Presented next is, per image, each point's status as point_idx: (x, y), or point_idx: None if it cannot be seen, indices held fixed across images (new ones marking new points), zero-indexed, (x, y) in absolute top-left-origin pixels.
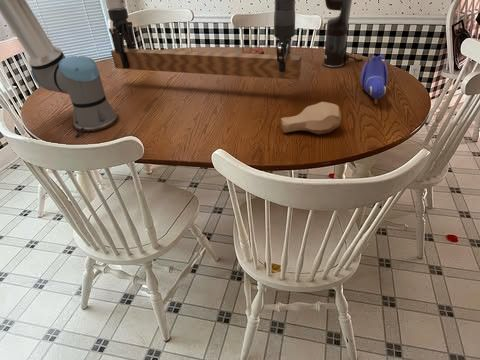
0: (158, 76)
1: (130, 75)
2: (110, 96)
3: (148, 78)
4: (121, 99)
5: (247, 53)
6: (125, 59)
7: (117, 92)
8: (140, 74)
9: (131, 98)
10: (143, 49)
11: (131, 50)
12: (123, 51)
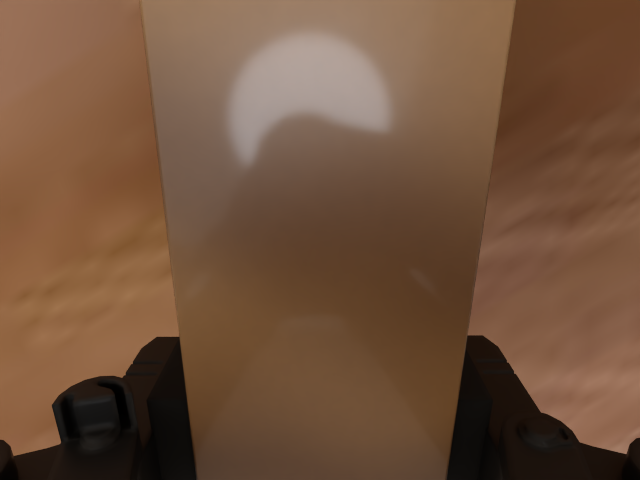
0: (49, 99)
1: (123, 367)
2: (566, 277)
3: (132, 175)
4: (631, 152)
5: None
6: None
7: (484, 269)
8: (72, 301)
9: (613, 71)
10: (172, 28)
11: (329, 349)
12: (560, 444)
